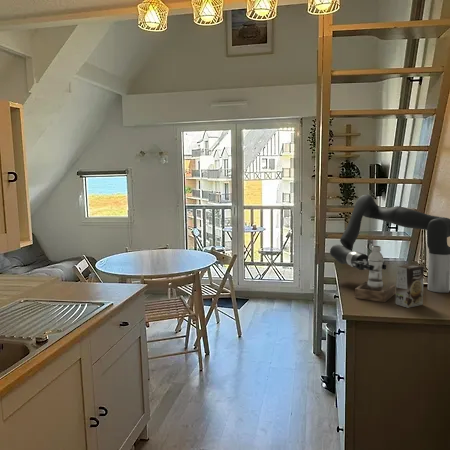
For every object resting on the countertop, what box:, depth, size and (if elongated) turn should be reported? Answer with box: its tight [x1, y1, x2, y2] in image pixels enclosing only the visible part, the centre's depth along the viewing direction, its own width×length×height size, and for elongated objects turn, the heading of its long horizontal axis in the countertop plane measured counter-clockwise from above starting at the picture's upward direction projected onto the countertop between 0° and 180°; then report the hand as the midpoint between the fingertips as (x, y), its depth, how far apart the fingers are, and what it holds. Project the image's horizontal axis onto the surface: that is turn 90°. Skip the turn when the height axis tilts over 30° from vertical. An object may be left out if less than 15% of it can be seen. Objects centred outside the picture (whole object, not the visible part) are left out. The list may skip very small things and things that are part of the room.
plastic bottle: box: [367, 245, 384, 291], centre depth 190 cm, size 6×7×20 cm
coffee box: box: [395, 263, 425, 309], centre depth 177 cm, size 9×6×16 cm
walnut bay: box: [354, 281, 396, 303], centre depth 191 cm, size 13×15×4 cm
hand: (378, 267), depth 188 cm, fingers closed on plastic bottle, 6 cm apart
